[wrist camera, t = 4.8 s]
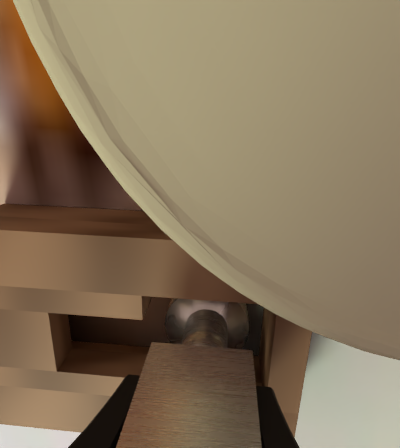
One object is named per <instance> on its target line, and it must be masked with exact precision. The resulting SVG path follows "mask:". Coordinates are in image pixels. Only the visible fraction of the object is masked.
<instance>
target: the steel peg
mask: <svg viewBox="0 0 400 448" xmlns="http://www.w3.org/2000/svg"><path fill="white" fill-rule="evenodd" d="M165 330H166V334H167V337H168V339H169V340H170V342H171V343H172V344H169V343H157V342H152V343H151V346H150V348H149V351H148V354H147V357H146V360H145V363H144V366H143V369H142V372H141V375H140V378H139V381H138V384H137V387H136V390H135V393H134V396H133V399H132V402H131V405H130V408H129V411H128V413H127V416H126V419H125V422H124V425H123V428H122V431H121V434H120V437H119V440H118V443H117V446H116V448H262V446H261V436H260V425H259V414H258V404H257V393H256V382H255V371H254V361H253V350H243V349H241V348H242V347H243V345H244V344H245V342H246V340H247V337H248V333H249V321H248V311H247V307H246V304H245V303H234V302H220V301H206V300H192V299H178V298H172V299H171V302H170V304H169V307H168V311H167V314H166V318H165Z"/></svg>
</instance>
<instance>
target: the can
mask: <svg viewBox="0 0 400 448" xmlns="http://www.w3.org/2000/svg"><path fill="white" fill-rule="evenodd" d="M13 2H14V4H15V6H16V8H17V11H18V13H19V15H20V17H21V20H22V22H23V24H24V26H25V29H26V31H27V33H28V35H29V38H30V40H31V42H32V44H33V46H34V48H35V50H36V52H37V53H38V55H39V57H40V59H41V61H42V63H43V65H44V67H45V69H46V70H47V72H48V74H49V76H50V78H51V80H52V82H53V84H54V86H55V88H56V89H57V91H58V93H59V95H60V96H61V98H62V100H63V102H64V103H65V105H66V107H67V108H68V110H69V112H70V113H71V115H72V117H73V118H74V120H75V122H76V123H77V125H78V127H79V128H80V130H81V131H82V133H83V134H84V136H85V137H86V138H87V140H88V141H89V143H90V144H91V145H92V147H93V148H94V150H95V151H96V152H97V154H98V155H99V157H100V158H101V159H102V161H103V162H104V164H105V165H106V166H107V168H108V169H109V170H110V172H111V173H112V174H113V176H114V177H115V178H116V180H117V181H118V182H119V183H120V185H121V186H122V187H123V189H124V190H125V191H126V192H127V193H128V194H129V195H130V197H131V198H132V199H133V200H134V201H135V202H136V203H137V204H138V205H139V206H140V207H141V208H142V210H143V211H144V212H145V213H146V214H147V215H148V216H149V217H150V218H151V219H152V220H153V221H154V223H155V224H156V225H157V226H158V227H159V228H160V229H161V230H162V231H163V232H164V233H165V234H167V235H168V236H169V237H170V238H171V239H172V240H173V241H174V242H176V243H177V244H178V245H179V246H180V247H181V248H182V249H184V250H185V251H186V252H187V253H188V254H189V255H190V256H191V257H193V258H194V259H195V260H196V261H197V262H198V263H199V264H200V265H202V266H203V267H204V268H206V269H207V270H209V271H210V272H211V273H213V274H214V275H216V276H217V277H218V278H220V279H221V280H222V281H224V282H225V283H227V284H228V285H229V286H231V287H232V288H234V289H235V290H236V291H238V292H239V293H241V294H243V295H244V296H246V297H247V298H249V299H251V300H252V301H254V302H256V303H258V304H259V305H261V306H263V307H264V308H266V309H268V310H269V311H271V312H273V313H275V314H277V315H279V316H280V317H282V318H284V319H286V320H288V321H290V322H292V323H294V324H296V325H298V326H300V327H303V328H305V329H308V330H310V331H312V332H315V333H317V334H320V335H322V336H324V337H327V338H330V339H333V340H335V341H338V342H341V343H344V344H346V345H349V346H352V347H354V348H357V349H360V350H363V351H366V352H369V353H373V354H377V355H381V356H385V357H389V358H393V359H397V360H400V0H13Z"/></svg>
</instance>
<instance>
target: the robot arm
mask: <svg viewBox="0 0 400 448" xmlns="http://www.w3.org/2000/svg"><path fill="white" fill-rule="evenodd" d="M139 378H140V375H130V374H128V375H127V376H126V377H125V378H124V379H123V381H122V382H121V384H120V385H119V386H118V388H117V389H116V390H115V392H114V393H113V395H112V396H111V397H110V399H109V400H108V401H107V402H106V404H105V405H104V406H103V408H102V409H101V410H100V411H99V412H98V414H97V415H96V416H95V417H94V419H93V420H92V421H91V422H90V423H89V425H88V426H87V427H86V428H85V429H84V431H83V432H82V433H81V434H80V435H79V436H78V437H77V438H76V440H75V441H74V442H73V443H72V444H71V445H70V446H69V447H68V448H116V446H117V443H118V440H119V437H120V434H121V431H122V428H123V425H124V422H125V419H126V416H127V413H128V411H129V408H130V405H131V402H132V399H133V396H134V393H135V390H136V387H137V384H138V381H139ZM256 393H257V404H258V414H259V425H260V436H261V446H262V448H299V446H298V444H297V442H296V440H295V438H294V436H293V434H292V432H291V430H290V428H289V426H288V424H287V422H286V419H285V417H284V415H283V413H282V410H281V408H280V406H279V403H278V401H277V398H276V396H275V393H274V390H273V389H272V388H271V387H265V386H256Z"/></svg>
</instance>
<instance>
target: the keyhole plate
mask: <svg viewBox="0 0 400 448" xmlns="http://www.w3.org/2000/svg"><path fill="white" fill-rule="evenodd" d="M151 297H164V298H178V299H192V300H206V301H220V302H234V303H248V304H258V303H256V302H254V301H252V300H251V299H249V298H247V297H246V296H244V295H243V294H241V293H239V292H238V291H236V290H235V289H234V288H232V287H231V286H229V285H228V284H227V283H225V282H224V281H222V280H221V279H220V278H218V277H217V276H216V275H214V274H213V273H211V272H210V271H209V270H207V269H206V268H204V267H203V266H202V265H200V264H199V263H198V262H197V261H196V260H195V259H194V258H193V257H191V256H190V255H189V254H188V253H187V252H186V251H185V250H184V249H182V248H181V247H180V246H179V245H178V244H177V243H176V242H174V241H173V240H172V239H171V238H170V237H169V236H168V235H167V234H165V233H164V232H163V231H162V230H161V229H160V228H159V227H158V226H157V225H156V224H155V223H154V221H153V220H152V219H151V218H150V217H149V216H148V215H147V214H146V213H145V212H144V211H134V210H115V209H95V208H76V207H57V206H38V205H19V204H2V205H0V424H5V425H15V426H25V427H34V428H44V429H54V430H63V431H73V432H83V431H84V429H85V428H86V427H87V426H88V425H89V423H90V422H91V421H92V420H93V419H94V417H95V416H96V415H97V414H98V412H99V411H100V410H101V409H102V408H103V406H104V405H105V404H106V402H107V401H108V400H109V399H110V397H111V396H112V395H113V393H114V392H115V390H116V389H117V388H118V386H119V385H120V384H121V382H122V381H123V379H124V378H125V377H126V376H127V375H128V374H130V375H141V372H142V369H143V366H144V363H145V360H146V357H147V354H148V351H149V348H150V347H142V346H129V345H117V344H105V343H93V342H81V341H71V334H70V326H69V318H68V314H71V315H84V316H97V317H110V318H123V319H136V320H143V317H144V315H145V313H146V310H147V308H148V306H149V303H150V301H151ZM311 335H312V331H310V330H308V329H305V328H303V327H300V326H298V325H296V324H294V323H292V322H290V321H288V320H286V319H284V318H282V317H280V316H279V315H277V314H275V313H273V312H271V311H269V310H268V309H266V308H264V311H263V320H262V330H261V339H260V348H259V356H253V361H254V371H255V382H256V386H265V387H271V388H272V389H273V390H274V393H275V396H276V398H277V401H278V403H279V406H280V408H281V410H282V413H283V415H284V417H285V419H286V422H287V424H288V426H289V428H290V430H291V432H292V434H293V436H294V437H295V431H296V425H297V419H298V413H299V407H300V401H301V395H302V389H303V383H304V377H305V371H306V365H307V359H308V353H309V347H310V341H311Z"/></svg>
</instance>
